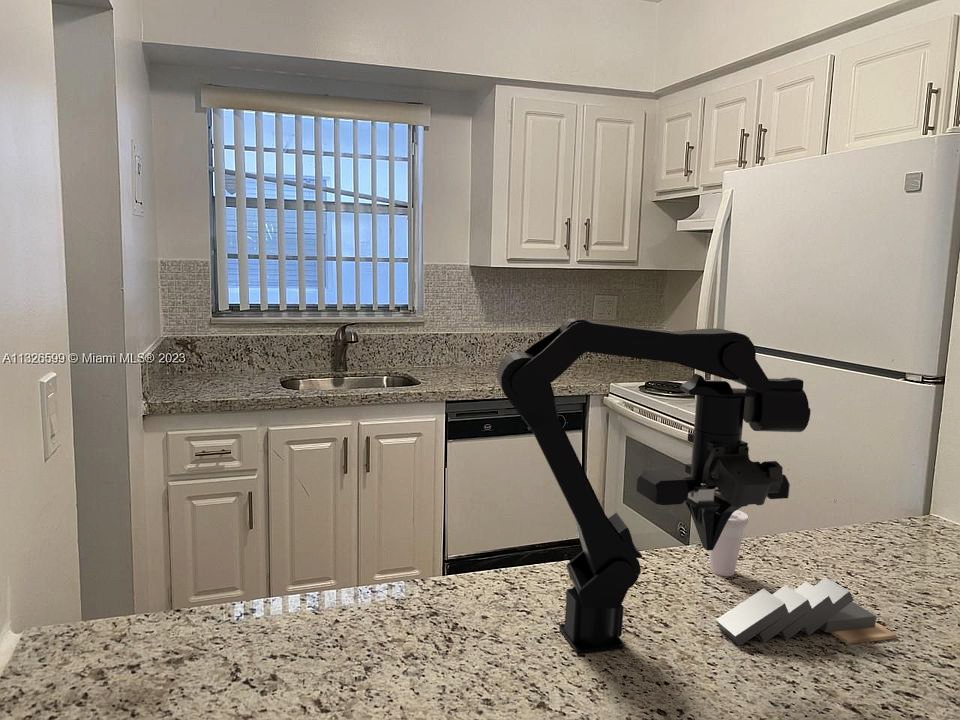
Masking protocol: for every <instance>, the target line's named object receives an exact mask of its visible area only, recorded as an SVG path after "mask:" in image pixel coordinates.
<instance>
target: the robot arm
mask: <svg viewBox="0 0 960 720" xmlns="http://www.w3.org/2000/svg"><path fill="white" fill-rule="evenodd" d="M756 352H757V351H756V348H755V344H754V343H753V342H752V340H751V339H750V337H749V336H748V335H745V334H743V333H740V332H736V331H732V330H728V329H727V330H726V329H724V328H717V327H716V328H699V329H688V330H676V331H668V330H661V329H653V328H644V327H637V326H630V325H622V324H614V323H613V324H612V323H606V322H600V321H599V322H597V321H589V320H586V319H583V318H580V317H570V318H569V319H566V320H565V321H564V322H563V323H562V324H561V325H560V326H558V327H557V328H556V329H554V330H553V331H552V332H549V333H547V335H545V336H543V337H541V338H540V339H538V340H537V341H536V342H534V343H533V344H531V345H530V346H529V347H528V348H526V349H525V350H523V351H514V352H512V353H509V354H508V355H506V356H504V357H503V358H502V359H501V361H500V362H499V363H498V367H497V370H496V379H497V381H498V384H499V387H500V389H501V390H502V392H503V394H504V396H505V397H506V398H507V400H508V402H510V404H511V405H512V407H513V408H514V409H515V410H516V412H517V414H518V415H519V416H520V418H522V421H524V422H525V423H524V424H526V425H527V426H528V428H529V429H530V430H531V432H532V433H533V435H534V438H535V440H536V441H537V444H538V446H539V448H540V450H541V453H542V454H543V456H544V458H545V460H546V462H547V464H548V466H549V468H550V470H551V472H552V474H553V476H554V478H555V480H556V482H557V484H558V486H559V488H560V491H561V492H562V494H563V496H564V498H565V501H566V502H567V504H568V506H569V509H570V511H571V512H572V515H573V517H574V519H575V522H576V526H577V532H578V537H579V541H580V544H581V548H582V550H581V551H580V552H579V553H578V554H577V555H575V557H574V558H572V559H571V560H570V561H568V562H567V564H566V569H567V572H568V576H569V578H570V580H571V581H572V584H573V587H572V588H567V589H566V598H565V599H566V600H565V612H564V613H565V614H564V623H561V624H559V625H558V626H559V627H558V628H559V631H560V632H561V633H562V636H564V638H565V639H566V640H567V641H568V643H569V644H570V645H571V647H572V648H573V649H574V651H575V652H576V653H581V654H582V653H583V654H584V653H591V652H600V651H611V650H618V649H623V648H624V647H625V642H623V640H622V638H620V637H622V636H623V625H624V623H623V622H624V609H625V606H624V605H623V602H624V600H625V598H626V595H627V593H628V591H629V589H630V588H632V587H634V585H635V584H636V583H637V581H638V579H639V577H640V575H641V573H642V568H641V565H640V561H639V559H641V558H643V554H642V553H641V552H640V550H639V549H638V547H637V546H636V545H635V543H634V541H633V538H632V534H631V531H630V529H629V527H628V525H626V523H625V522H624V520H623V519H622V518H621V517H620V515H619V514H618V512H615V513H614V514H613V515H611V516H610V517H608V515H607V514H606V513H605V511H604V509H603V506H602V505H601V503H600V501H599V498H598V496H597V494H596V492H595V490H594V488H593V486H592V484H591V482H590V480H589V478H588V475H587V474H586V472H585V470H584V468H583V466H582V463H581V461H580V459H579V457H578V455H577V453H576V451H575V448H574V447H573V445H572V443H571V441H570V439H569V436H568V434H567V432H566V430H565V428H564V426H563V423H562V422H561V420H560V416H559V412H558V406H557V402H556V401H557V400H556V396H555V392H554V390H553V386H552V383H553V382H554V381H555V380H557V379H558V378H559V377H561V376H562V375H563V374H564V373H565V372H566V371H567V370H568V369H569V368H571V366H572V365H573V364H574V363H575V362H576V361H577V360H578V359H579V358H580V357H582V356H583V355H584V354H585V353H590V354H591V353H593V354H600V355H609V356H616V357H617V356H618V357H626V358H631V359H632V358H633V359H641V360H642V359H643V360H649V361H655V362H656V361H658V362H665V363H673V364H678V365H681V366H683V367H687V368H690V369H693V370H696V371H700V372H702V373H705V374H708V375H712V376H714V377H715V376H716V377H718V378H721V379H725V380H705V378H704V377H703V375H700V374H698V373H694V374H693V375H692V377H691V378H689V379H688V380H687V381H685V382H684V383H682V384H681V385H680V386H679V389H680V390H681V391H682V392H684V393H686V394H687V395H689V396H696V400H695V401H696V402H695V414H694V426H693V427H694V428H693V432H688V433H687V440H686V441H687V442H689V443H691V444H692V450H691V451H692V452H691V463H686V464H685V469H684V472H685V473H687V474H689V475H690V476H689V477H687V476H686V477H681V476H679V475H678V474H676V473H673V472H672V471H670V470H668V469H654V470H652V469H651V470H650V469H649V470H642V471H641V473H639V475H638V477H637V479H636V492H637V493H638V494H641V495H642V496H643V497H645V498H646V499H648V500H650V501H651V502H652V503H654V504H656V505H660V506H673V505H674V506H675V505H682V504H683V503H685V505H686V507H687V509H688V511H689V513H690V516H691V518H692V521H693V523H694V525H695V528H696V532H697V535H698V537H699V540H700V543H701V545H702V548H703V549H704V550H706V551H708V552H709V550H713V549H714V547H715V545H716V543H717V541H718V539H719V537H720V535H721V533H722V531H723V529H724V527H725V525H726V523H727V521H728V520H729V518H730V516H731V515H732V513H733V512H735V511H736V510H740V509H741V508H743V507H744V508H745V507H748V506H749V505H756V506H764V504H765V502H766V499H769V500H779V499H781V500H782V499H789V496H790V488H791V487H790V485H791V484H790V482H789V480H788V478H787V476H786V475H785V474H784V473H783V469H784V468H783V466H782V465H781V464H780V463H779V462H778V461H777V460H772V461H771V460H770V461H768V460H765V461H762V462H761V461H752V460H751V459H750V455H749V451H750V447H749V446H748V445H749V443H748V442H746V441H744V440H742V437H743V428H744V427H743V425H744V422H745V423H746V424H748V425H749V427H750V428H751V429H752V431H754V432H773V433H775V432H777V433H778V432H780V433H801V432H803V431H805V430H806V429H807V427H808V425H809V421H810V419H811V408H810V406H809V404H810V403H809V399H808V397H807V394H806V392H805V390H804V380H802V379H800V378H797V377H783V378H768V376H767V375H766V373H765V372H764V370H763V369H762V367H761V365H760V364H759V362H758V361H757V358H756V354H757V353H756ZM726 380H729V381H733V382H735V383H738V384H740V385H742V386H745V388H737V387H735V388H734V387H732V386H731V384H730V383H729V382H728V381H726Z"/></svg>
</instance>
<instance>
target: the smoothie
mask: <svg viewBox="0 0 960 720" xmlns="http://www.w3.org/2000/svg"><path fill="white" fill-rule="evenodd" d="M748 524H749V516H748V514H747V513H745V512H743V511H741V510H740V509H738V510H736V511H735V512H733V513H732V515H731V516H730V518H729V520H728V521H727V523H726V525H725V527H724V529H723V531H722V533H721V535H720V537H719V539H718V541H717V543H716V545H715V547H714V549H713V550H709V551H708V552H709V571H710V572H711V573H712V574H715V575H717V576H722V577H732V575H733V576H734V575H735V573H736V567H737V564H738V559H739V555H740V550H741V546H742V541H743V537H744V534H745V528H746V525H748Z"/></svg>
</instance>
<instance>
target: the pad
mask: <svg viewBox="0 0 960 720" xmlns="http://www.w3.org/2000/svg"><path fill="white" fill-rule="evenodd" d="M829 633H830V634H831V635H832V634H833V636H834V637H835V638H837V639H838V638H839V639H838V640H840V641H841V642H843V643H844V644H846V645H851V644H858V643H859V644H860V643H868V642H869V643H870V642H877V641H886V640H895V639H897V634H896V633H894V632H893V631H891V630H889V629H887V628H886V627H884V626H883V625H881V624H880V623H878V622H877V621H876V622H875V627H872V628H863V629H855V630H846V631H837V632H829Z"/></svg>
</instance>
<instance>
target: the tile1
mask: <svg viewBox="0 0 960 720" xmlns="http://www.w3.org/2000/svg"><path fill="white" fill-rule="evenodd" d="M772 594H773V593H771V592H769V591H767V590H766V589H765V588H762V589H760V590H759V591H757V592H756V593H754V594H753V595H751V596H750V597H748V598H746V599H745V600H743V601H742V602H741V603H739V604H737V605H736V606H734V607H733V608H731V609H730V610H729V611H727V612H725V613H724V614H722V615H721V616H719V617H718V618H716V619H715V621H716V623H717V626H718V628H719V630H720V631H721V632H723V633H724V635H726V636H727V637H729V639H731V640H732V641H733V642H734V643H735V644H737V645H738V646H742V645H744V644H745V643H746V642H748V641H749V640H751V639H752V638H754V637H756V636H755V635H757V634H758V633H760V632H761V631H763V630H764V629H766V628H767V627H769V626H770V625H772V624H773V623H775V622H776V621H778V620H779V619H781V618H782V617H784V616H785V615H787V614H788V613H789V612H788V610H787V607H786V605H785V603H784V602H782V601H781V600H779V599H778V598H776V597H775V596H774V595H772Z"/></svg>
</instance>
